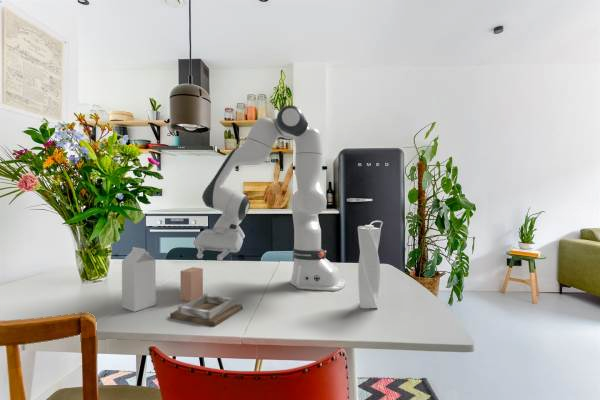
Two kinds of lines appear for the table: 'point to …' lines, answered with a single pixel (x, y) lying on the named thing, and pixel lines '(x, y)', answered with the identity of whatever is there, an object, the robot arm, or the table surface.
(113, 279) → the table surface
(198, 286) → the terracotta post
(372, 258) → the skyscraper
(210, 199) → the robot arm
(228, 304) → the walnut board
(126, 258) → the milk carton
